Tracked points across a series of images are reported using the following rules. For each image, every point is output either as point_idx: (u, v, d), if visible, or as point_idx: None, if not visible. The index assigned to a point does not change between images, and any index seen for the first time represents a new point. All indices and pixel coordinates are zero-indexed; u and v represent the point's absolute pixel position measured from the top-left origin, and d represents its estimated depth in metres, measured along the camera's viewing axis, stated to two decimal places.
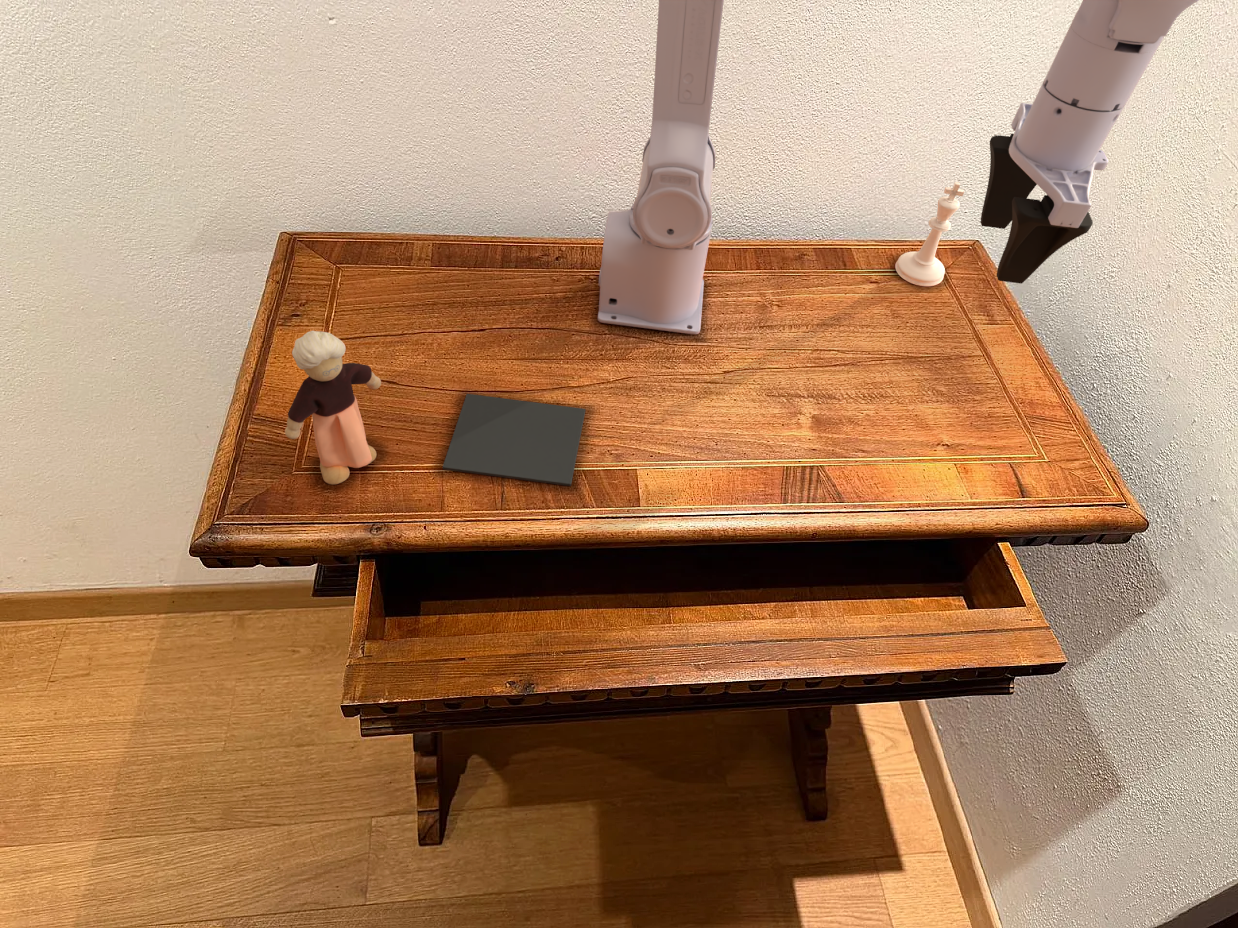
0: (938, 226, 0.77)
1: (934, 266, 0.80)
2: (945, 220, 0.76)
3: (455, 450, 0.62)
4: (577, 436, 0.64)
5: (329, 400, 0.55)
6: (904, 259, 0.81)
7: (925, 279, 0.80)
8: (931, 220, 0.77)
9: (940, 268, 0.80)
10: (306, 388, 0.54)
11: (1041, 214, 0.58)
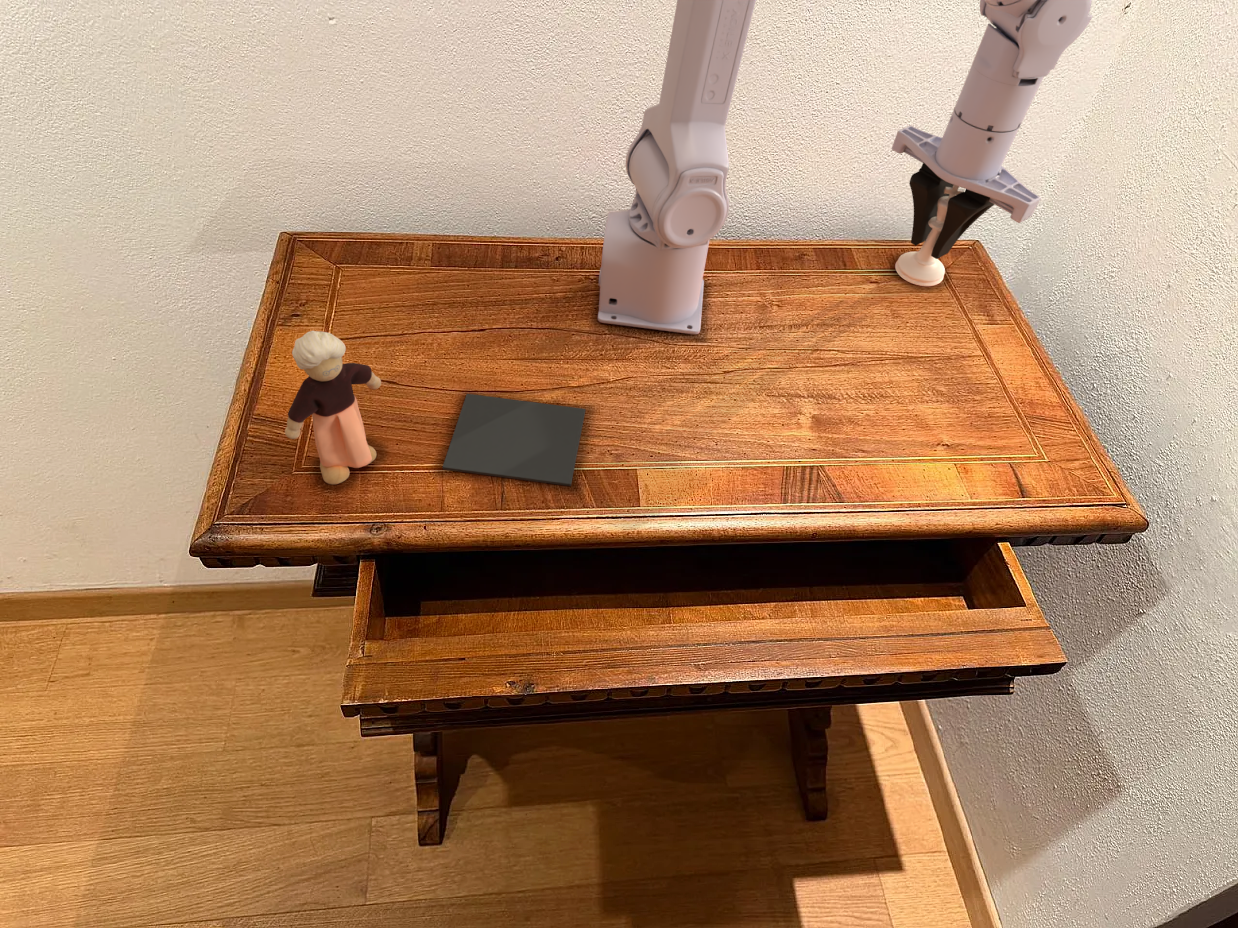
0: (938, 226, 0.77)
1: (934, 266, 0.80)
2: None
3: (455, 450, 0.62)
4: (577, 436, 0.64)
5: (329, 400, 0.55)
6: (904, 259, 0.81)
7: (925, 279, 0.80)
8: (931, 220, 0.77)
9: (940, 268, 0.80)
10: (306, 388, 0.54)
11: (977, 203, 0.72)
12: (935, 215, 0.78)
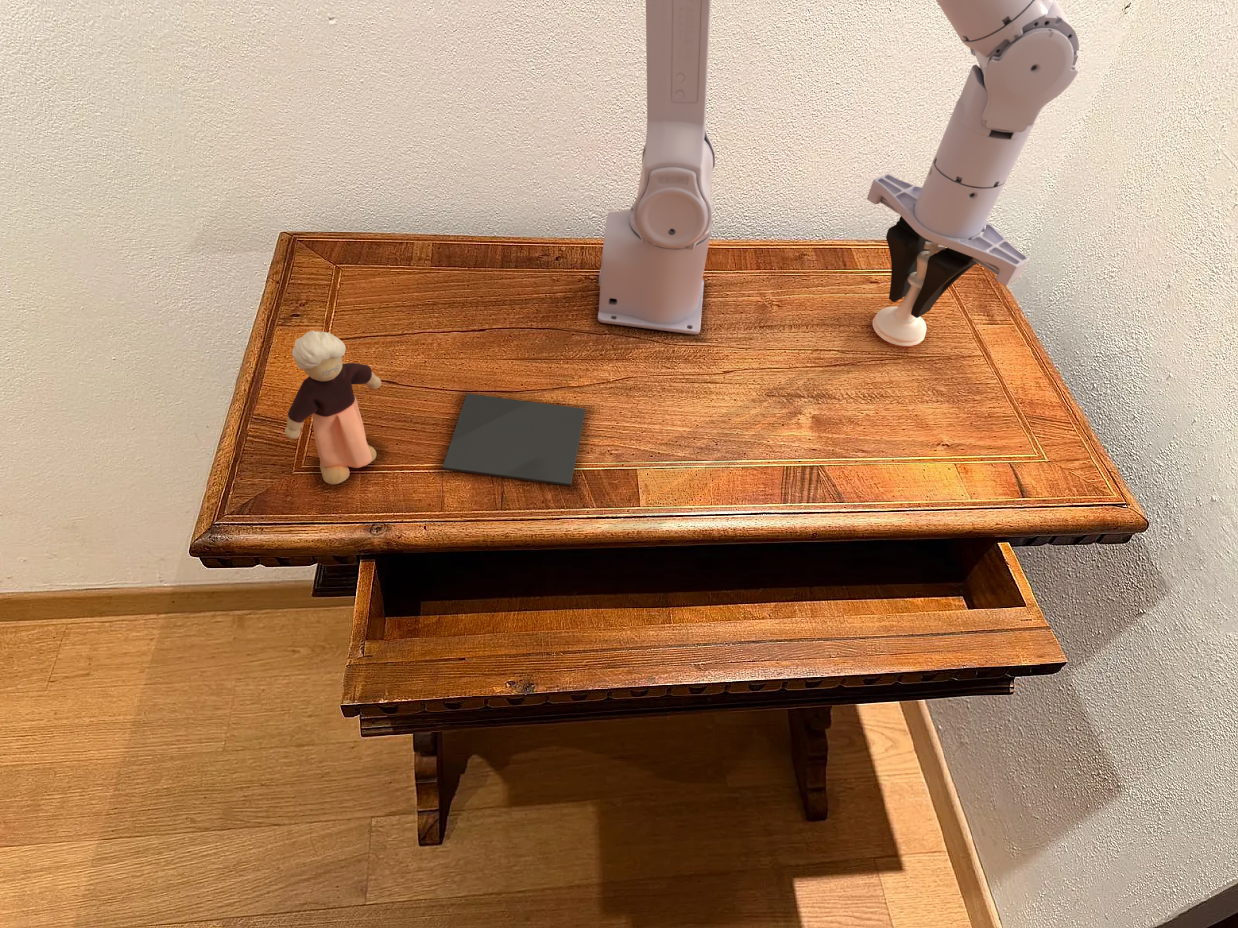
0: (918, 283, 0.70)
1: (914, 324, 0.74)
2: None
3: (455, 450, 0.62)
4: (577, 436, 0.64)
5: (329, 400, 0.55)
6: (882, 316, 0.74)
7: (904, 339, 0.73)
8: (910, 276, 0.70)
9: (921, 326, 0.74)
10: (306, 388, 0.54)
11: (960, 262, 0.65)
12: (915, 270, 0.71)
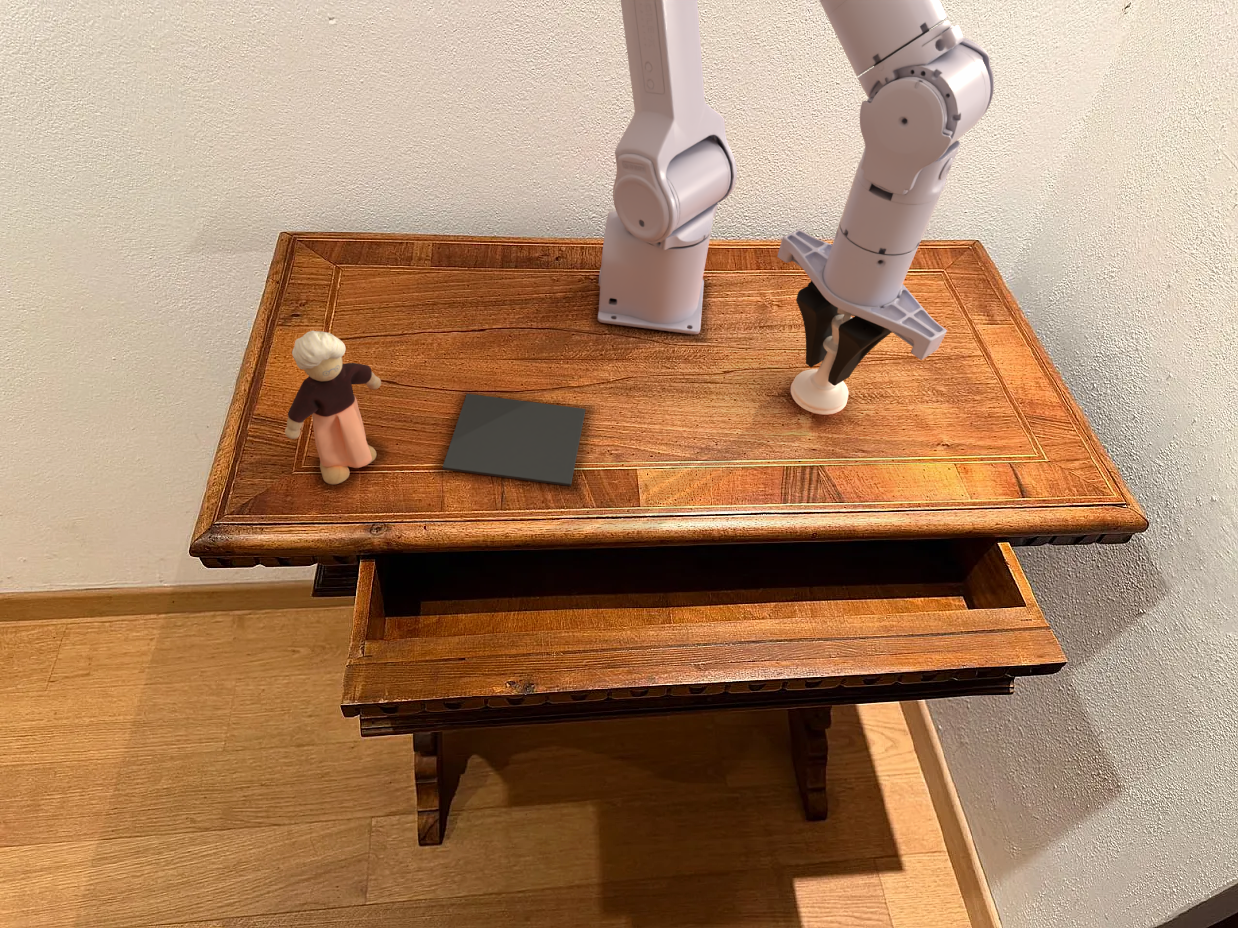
0: (833, 349, 0.64)
1: (835, 390, 0.67)
2: None
3: (455, 450, 0.62)
4: (577, 436, 0.64)
5: (329, 400, 0.55)
6: (800, 381, 0.68)
7: (823, 407, 0.67)
8: (826, 341, 0.64)
9: (842, 392, 0.68)
10: (306, 388, 0.54)
11: (873, 331, 0.59)
12: None
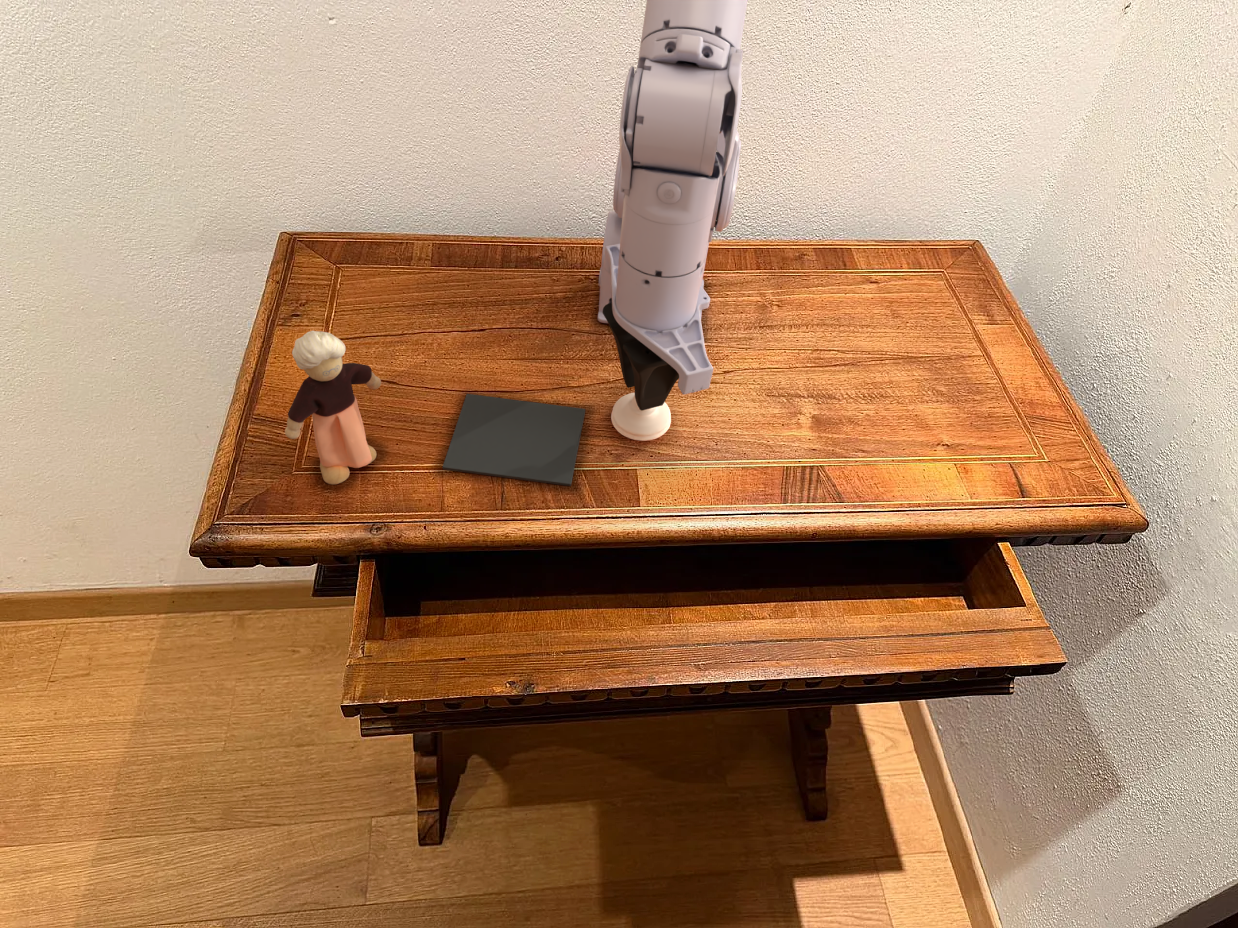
0: None
1: (651, 417, 0.64)
2: None
3: (455, 450, 0.62)
4: (577, 436, 0.64)
5: (329, 400, 0.55)
6: (622, 401, 0.65)
7: (631, 431, 0.63)
8: None
9: (659, 421, 0.64)
10: (306, 388, 0.54)
11: (655, 357, 0.56)
12: None
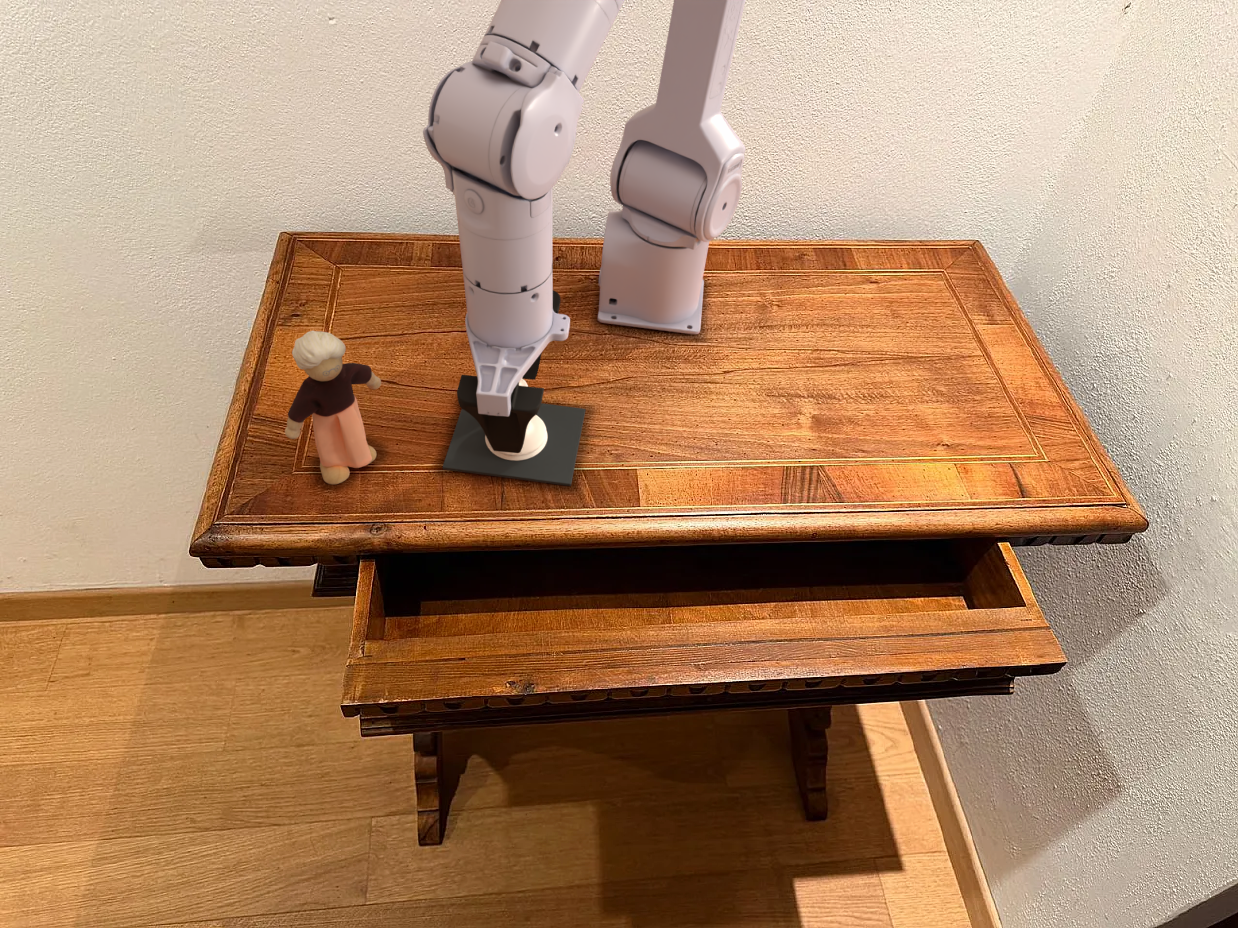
0: None
1: None
2: None
3: (455, 450, 0.62)
4: (577, 436, 0.64)
5: (329, 400, 0.55)
6: None
7: None
8: None
9: (523, 445, 0.62)
10: (306, 388, 0.54)
11: None
12: None
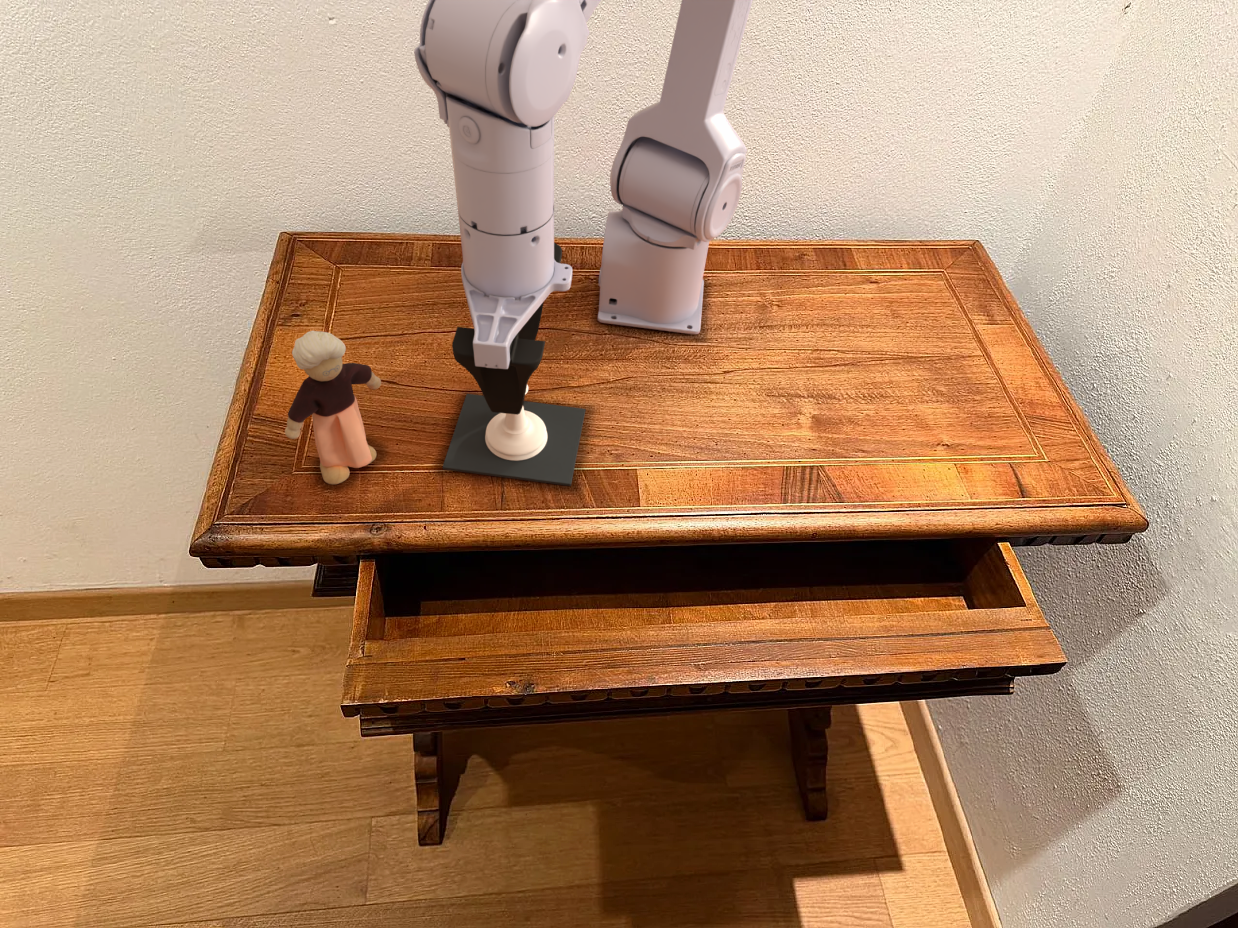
0: None
1: (517, 438, 0.62)
2: None
3: (455, 450, 0.62)
4: (577, 436, 0.64)
5: (329, 400, 0.55)
6: (505, 413, 0.64)
7: (492, 445, 0.62)
8: None
9: (523, 445, 0.62)
10: (306, 388, 0.54)
11: None
12: None
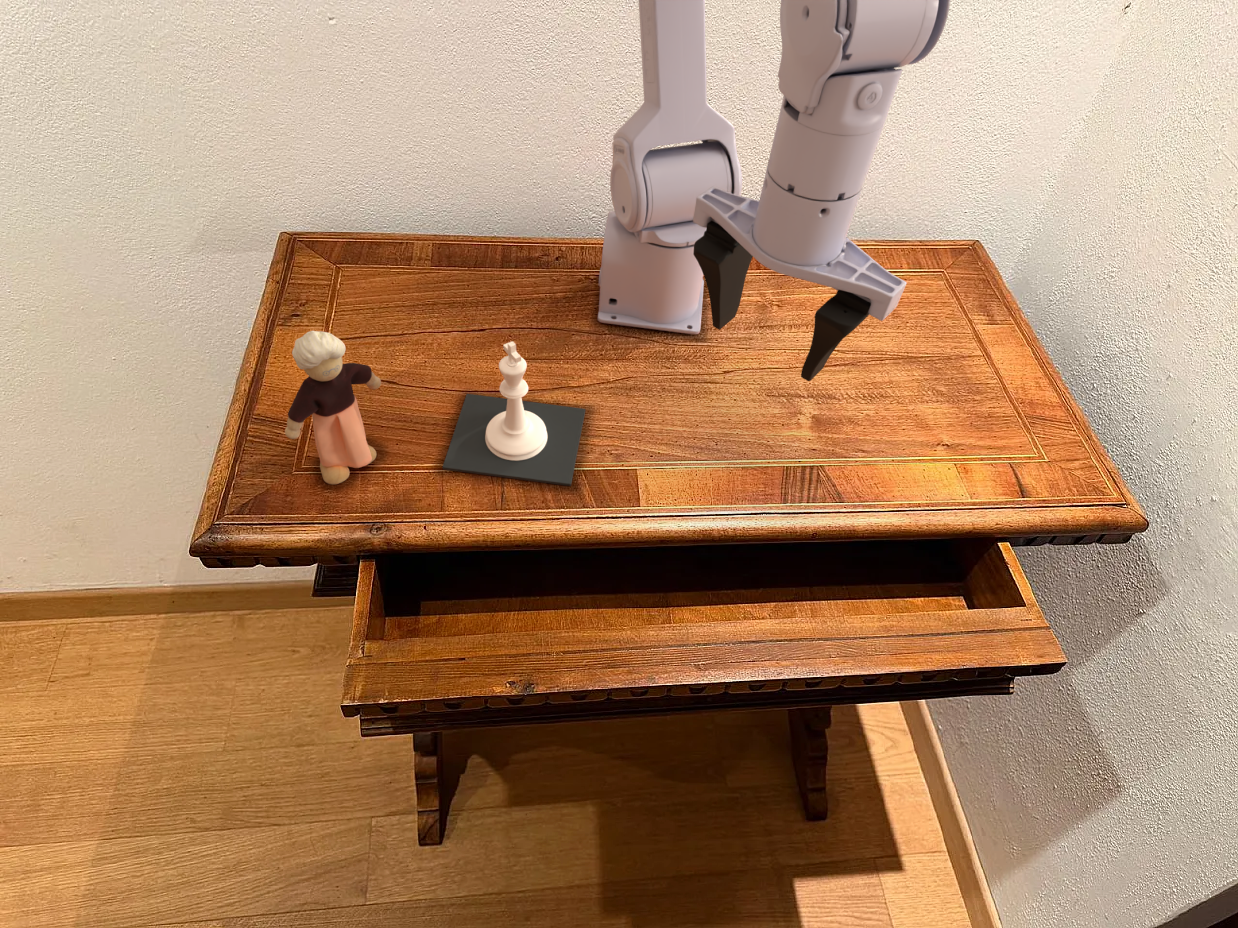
0: (502, 387, 0.59)
1: (517, 438, 0.62)
2: (509, 384, 0.58)
3: (455, 450, 0.62)
4: (577, 436, 0.64)
5: (329, 400, 0.55)
6: (505, 413, 0.64)
7: (492, 445, 0.62)
8: None
9: (523, 445, 0.62)
10: (306, 388, 0.54)
11: (856, 313, 0.49)
12: (738, 287, 0.57)
